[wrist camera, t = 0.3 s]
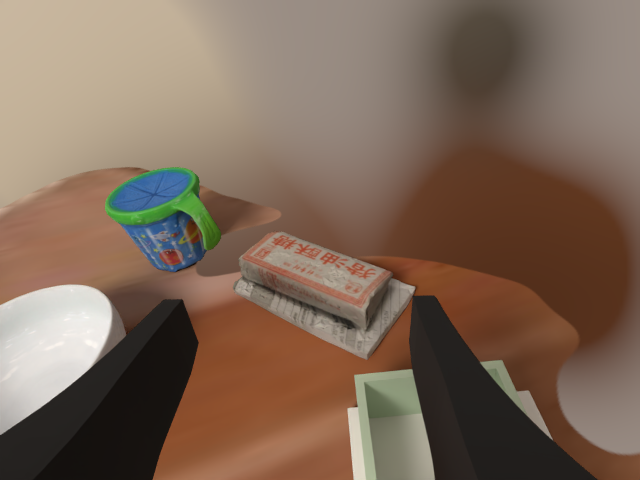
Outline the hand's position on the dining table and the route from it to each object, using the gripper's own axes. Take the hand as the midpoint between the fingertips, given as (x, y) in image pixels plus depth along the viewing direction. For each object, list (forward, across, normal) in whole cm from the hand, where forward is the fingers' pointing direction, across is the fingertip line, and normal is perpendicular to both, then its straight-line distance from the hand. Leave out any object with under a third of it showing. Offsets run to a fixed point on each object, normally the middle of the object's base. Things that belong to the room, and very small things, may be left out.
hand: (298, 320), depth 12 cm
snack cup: (+32, +21, +21) cm, 43 cm away
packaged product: (+23, +2, +21) cm, 31 cm away
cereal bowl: (+11, +26, +22) cm, 36 cm away
